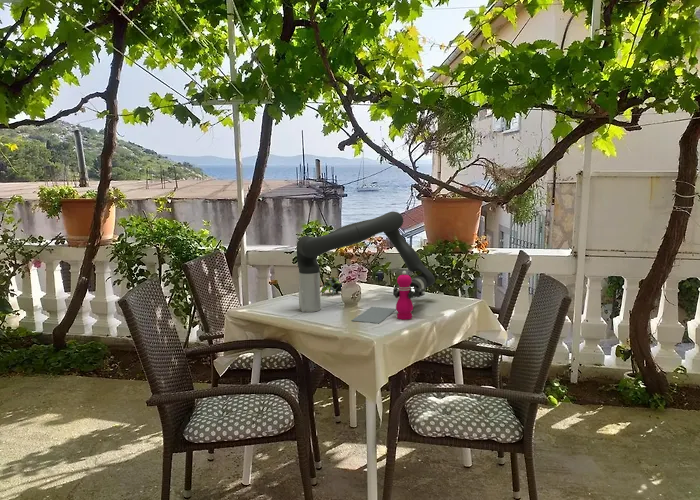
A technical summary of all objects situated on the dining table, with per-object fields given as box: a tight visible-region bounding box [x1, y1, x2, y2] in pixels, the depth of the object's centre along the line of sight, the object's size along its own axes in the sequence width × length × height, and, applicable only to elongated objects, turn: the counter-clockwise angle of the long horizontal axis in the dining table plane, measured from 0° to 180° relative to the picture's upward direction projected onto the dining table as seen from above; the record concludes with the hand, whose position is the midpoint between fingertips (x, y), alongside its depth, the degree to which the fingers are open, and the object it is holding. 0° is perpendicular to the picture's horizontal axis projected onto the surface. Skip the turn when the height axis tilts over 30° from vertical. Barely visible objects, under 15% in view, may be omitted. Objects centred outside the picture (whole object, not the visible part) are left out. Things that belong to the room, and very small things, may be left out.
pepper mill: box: [395, 270, 414, 321], centre depth 213 cm, size 7×7×20 cm
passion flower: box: [320, 275, 343, 297], centre depth 261 cm, size 11×11×12 cm
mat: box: [351, 306, 397, 325], centre depth 220 cm, size 24×12×1 cm, turn 157°
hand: (402, 295), depth 211 cm, fingers closed on pepper mill, 5 cm apart
